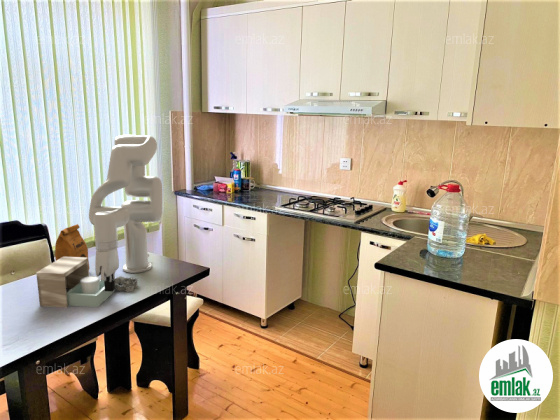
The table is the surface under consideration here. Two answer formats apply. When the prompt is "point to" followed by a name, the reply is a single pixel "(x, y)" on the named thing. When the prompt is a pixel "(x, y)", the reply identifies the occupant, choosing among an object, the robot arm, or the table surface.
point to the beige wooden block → (60, 280)
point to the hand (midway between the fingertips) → (109, 290)
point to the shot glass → (90, 284)
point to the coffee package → (70, 244)
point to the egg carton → (125, 283)
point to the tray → (87, 296)
